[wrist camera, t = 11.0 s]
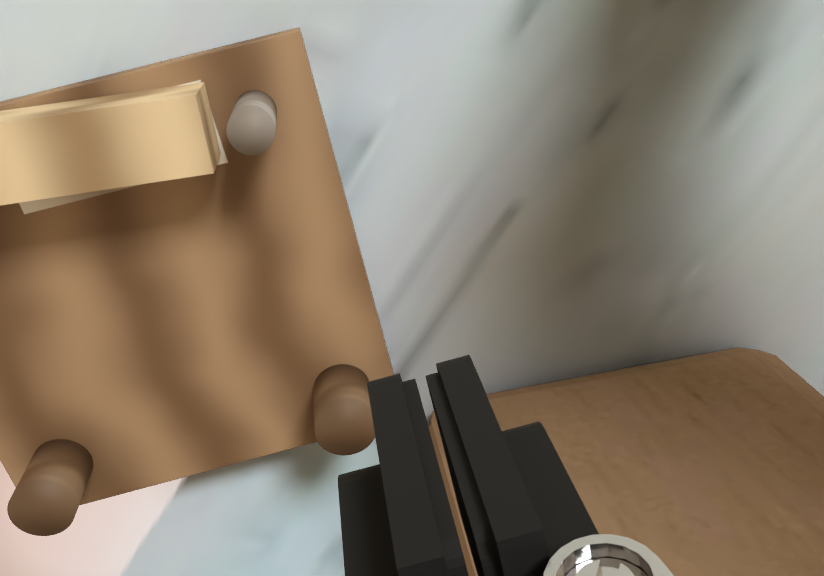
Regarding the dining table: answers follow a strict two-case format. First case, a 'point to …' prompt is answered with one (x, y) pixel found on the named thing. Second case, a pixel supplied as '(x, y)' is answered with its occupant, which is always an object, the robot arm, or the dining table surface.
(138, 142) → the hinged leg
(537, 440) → the robot arm
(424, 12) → the dining table surface
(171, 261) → the board
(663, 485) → the wooden block
